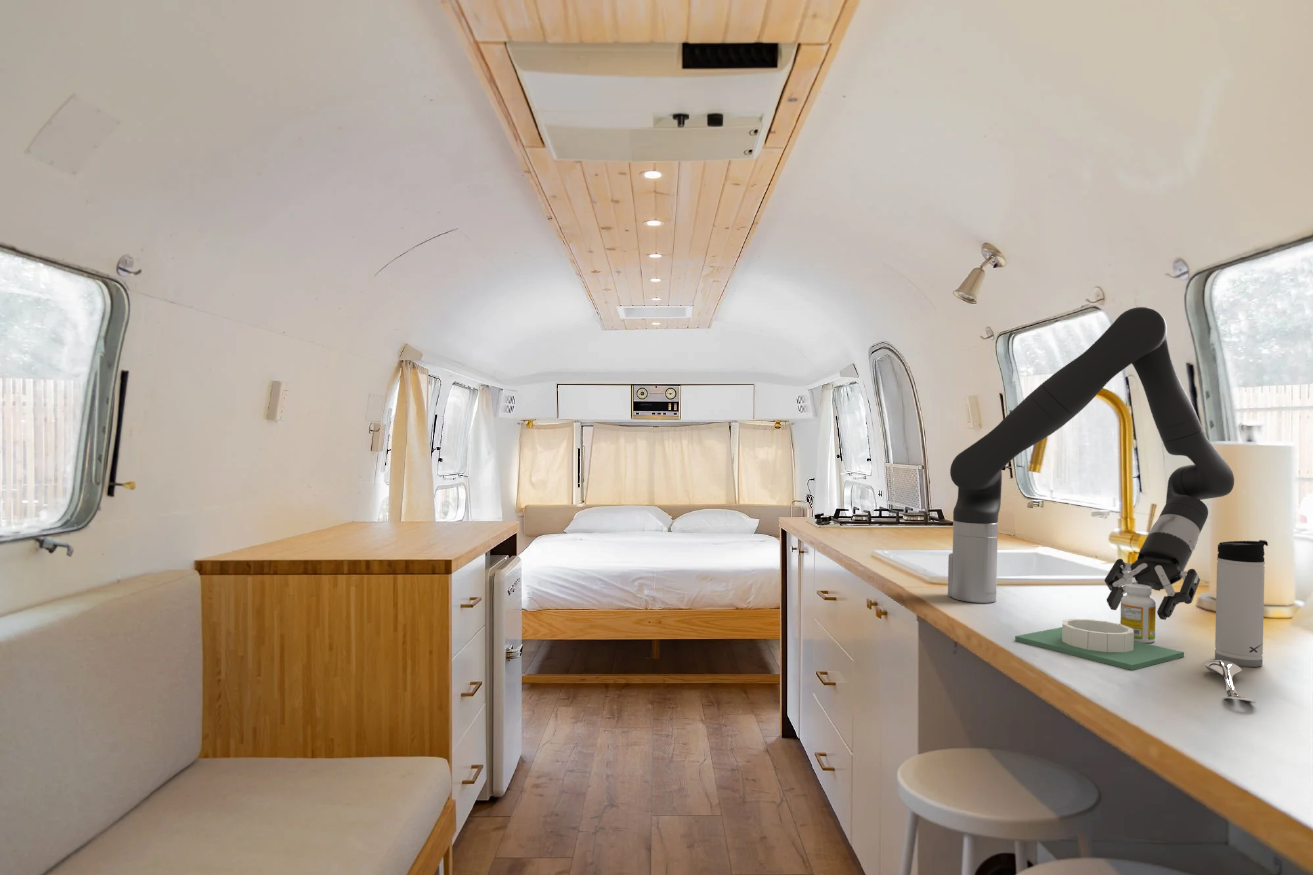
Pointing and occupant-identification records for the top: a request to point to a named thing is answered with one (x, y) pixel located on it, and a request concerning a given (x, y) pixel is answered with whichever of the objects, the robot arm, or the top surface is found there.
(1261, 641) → the travel mug
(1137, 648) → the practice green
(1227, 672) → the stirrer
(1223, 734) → the top surface
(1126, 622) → the supplement bottle
